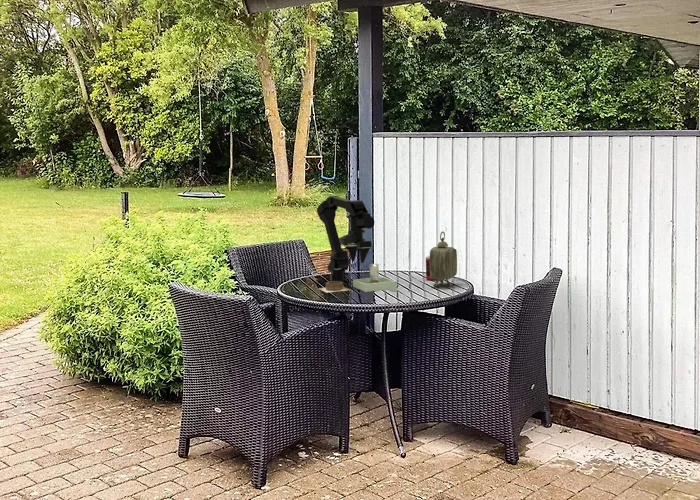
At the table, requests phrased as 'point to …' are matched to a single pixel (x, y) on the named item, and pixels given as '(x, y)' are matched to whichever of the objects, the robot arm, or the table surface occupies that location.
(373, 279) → the spice shaker
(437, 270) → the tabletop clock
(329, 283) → the socket block
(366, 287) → the bin
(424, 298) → the table surface
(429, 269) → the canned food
